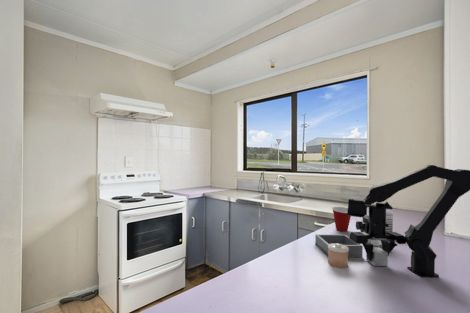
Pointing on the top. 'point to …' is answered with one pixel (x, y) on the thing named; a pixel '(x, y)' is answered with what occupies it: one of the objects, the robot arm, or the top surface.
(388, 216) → the can
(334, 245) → the ceramic canister
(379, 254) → the steel block
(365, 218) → the jar
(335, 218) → the plastic cup
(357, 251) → the tote
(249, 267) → the top surface
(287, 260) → the top surface
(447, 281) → the top surface
